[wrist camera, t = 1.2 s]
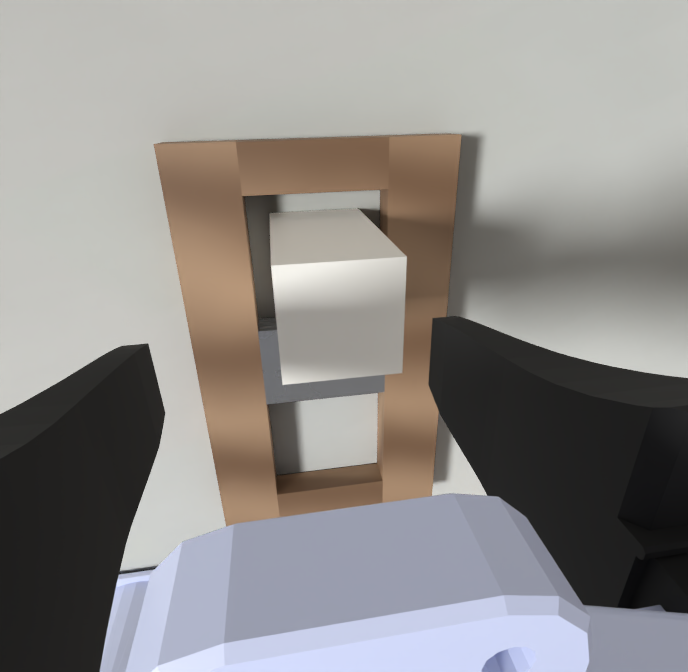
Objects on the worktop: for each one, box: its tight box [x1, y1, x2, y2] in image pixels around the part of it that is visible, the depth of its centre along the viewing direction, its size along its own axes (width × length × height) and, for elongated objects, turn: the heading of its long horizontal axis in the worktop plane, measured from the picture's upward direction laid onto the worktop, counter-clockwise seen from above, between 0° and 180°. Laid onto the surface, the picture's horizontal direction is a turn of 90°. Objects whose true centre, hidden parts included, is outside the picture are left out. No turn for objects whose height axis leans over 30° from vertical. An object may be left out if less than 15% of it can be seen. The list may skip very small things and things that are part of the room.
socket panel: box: [154, 134, 461, 527], centre depth 23 cm, size 20×12×2 cm, turn 1°
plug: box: [270, 208, 407, 385], centre depth 18 cm, size 4×4×8 cm
